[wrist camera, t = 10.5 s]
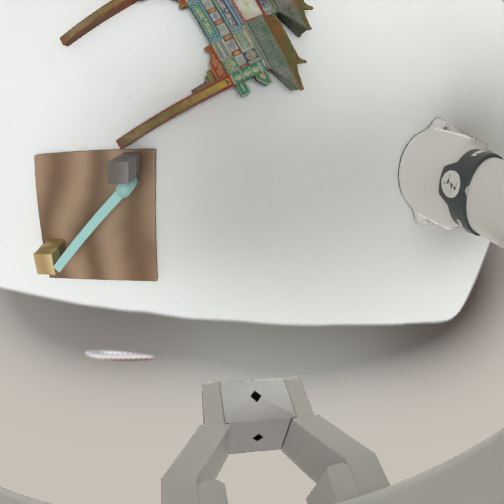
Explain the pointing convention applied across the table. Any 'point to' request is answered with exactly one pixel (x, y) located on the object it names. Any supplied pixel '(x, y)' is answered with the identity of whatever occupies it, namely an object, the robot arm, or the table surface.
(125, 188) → the gate
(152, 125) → the miniature gate
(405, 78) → the table surface
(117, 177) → the gate frame
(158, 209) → the table surface
